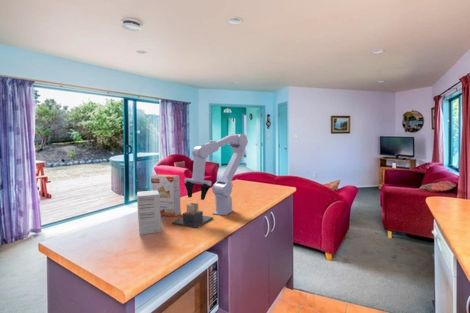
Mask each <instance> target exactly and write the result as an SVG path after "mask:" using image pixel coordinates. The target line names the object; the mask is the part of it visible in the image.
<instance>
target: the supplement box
mask: <svg viewBox="0 0 470 313" xmlns="http://www.w3.org/2000/svg"><path fill="white" fill-rule="evenodd" d="M136 197H137V198H136V199H137V200H136V201H137V204H136V205H137V219H138V220H137V222H138V232H139V233H138V234H139V235H141V236H142V235H150V234H155V233H161V232H162V220H161V218H162V217H161V216H162V215H160V194H159V192H158V190H153V191H152V190H147V191H146V190H144V191H143V190H142V191H137V193H136Z"/></svg>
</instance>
